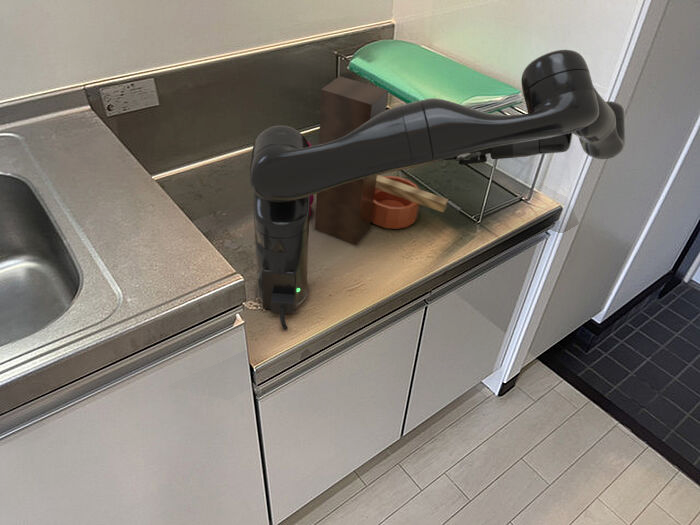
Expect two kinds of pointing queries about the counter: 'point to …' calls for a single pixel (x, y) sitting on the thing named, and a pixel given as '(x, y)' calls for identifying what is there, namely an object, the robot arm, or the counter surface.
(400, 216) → the bowl
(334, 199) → the stand
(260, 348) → the counter surface
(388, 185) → the stick
